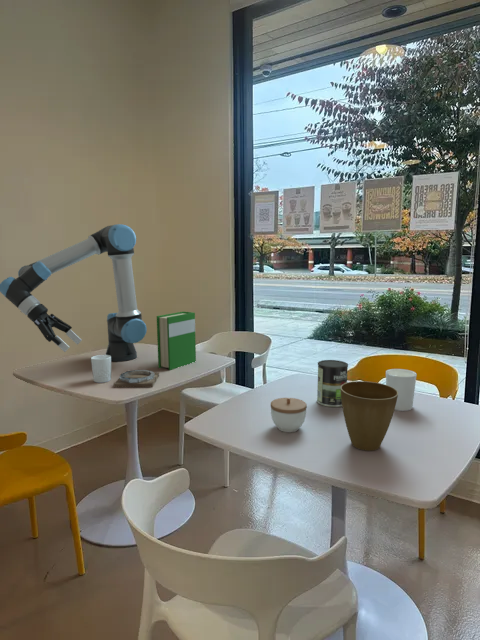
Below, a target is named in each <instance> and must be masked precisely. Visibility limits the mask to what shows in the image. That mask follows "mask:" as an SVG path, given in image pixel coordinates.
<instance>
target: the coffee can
mask: <svg viewBox="0 0 480 640" xmlns="http://www.w3.org/2000/svg"><path fill="white" fill-rule="evenodd" d="M348 367H349V364H348V362H345V361H342V360H338V359H324V360H323V359H322V360H320V361H318V362H317V390H316V391H317V395H316V396H317V398H316V399H317V400H316V402H317V404H319V405H321V406H323V407H329V408H340V407H342V400H341V389H340V387H341V385H342V384H344V383H347V382H348Z"/></svg>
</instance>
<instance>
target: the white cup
mask: <svg viewBox="0 0 480 640" xmlns="http://www.w3.org/2000/svg"><path fill="white" fill-rule="evenodd" d="M90 363H91V370H92V371H91V372H92V377H93V382H94V383H96V384H99V383H101V384H102V383H103V384H104V383H107V382H110V381H111V380H112V361H111V356H110V355H106V354H98V355H94V356H91V357H90Z"/></svg>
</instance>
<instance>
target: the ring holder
mask: <svg viewBox="0 0 480 640" xmlns="http://www.w3.org/2000/svg"><path fill="white" fill-rule="evenodd" d="M159 378H160V372H154V371H153V370H147V369H135V370H128V371H125V372H121V374H120V375H119V378H118V379H117V380H116V381H115V382H114V383H113V388H153V387H154V386H155V383H156V382H157V380H158V379H159Z"/></svg>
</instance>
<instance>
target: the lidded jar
mask: <svg viewBox="0 0 480 640" xmlns="http://www.w3.org/2000/svg"><path fill="white" fill-rule="evenodd" d="M307 407H308V404H307V403H306V401H304V400H303V399H299V398H295V397H280V398H276V399H275V398H274V399H273V400H272V401H271V402H270V415H271V419H272V422H273V424H274V425H275V426H276V428H278V429H277V430H279V431H281V432H283V433H295V432H297V431H299V429H300V428H301V427H302V426H303V424H304V423H305V419H306V417H307Z"/></svg>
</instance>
